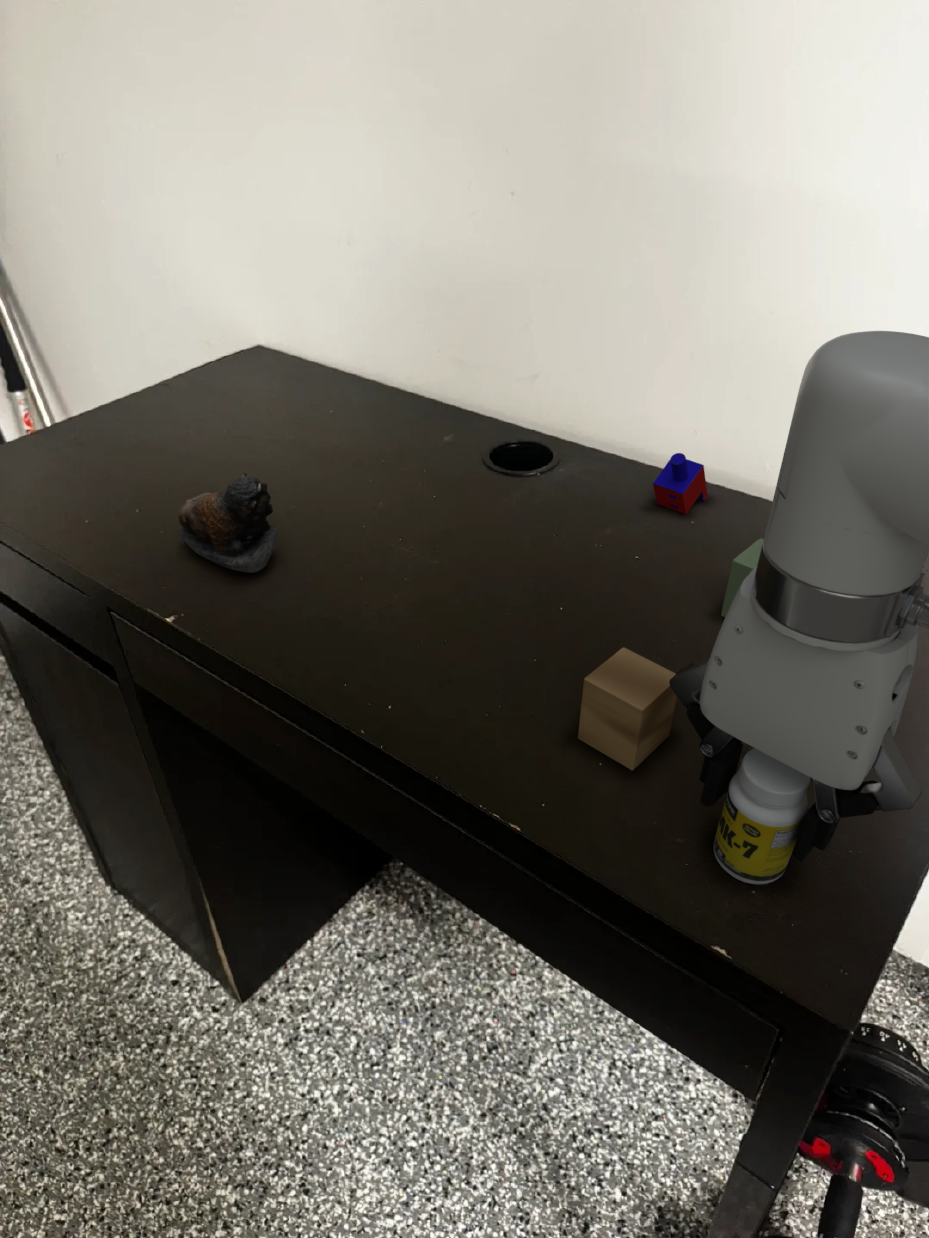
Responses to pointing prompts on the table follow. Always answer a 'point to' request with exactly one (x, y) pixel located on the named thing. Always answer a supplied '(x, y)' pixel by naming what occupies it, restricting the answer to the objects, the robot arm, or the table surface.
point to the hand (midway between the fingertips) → (761, 817)
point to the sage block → (741, 572)
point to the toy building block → (680, 484)
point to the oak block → (627, 708)
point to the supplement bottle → (760, 819)
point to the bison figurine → (231, 525)
